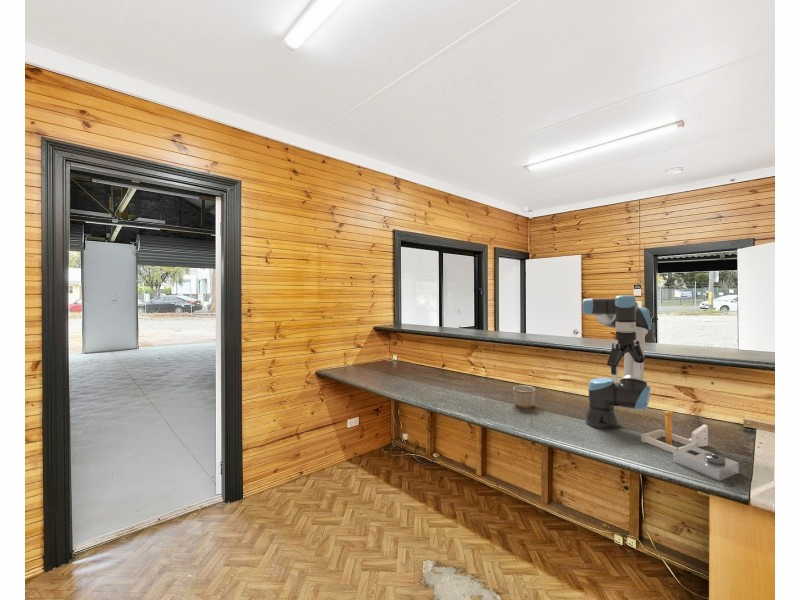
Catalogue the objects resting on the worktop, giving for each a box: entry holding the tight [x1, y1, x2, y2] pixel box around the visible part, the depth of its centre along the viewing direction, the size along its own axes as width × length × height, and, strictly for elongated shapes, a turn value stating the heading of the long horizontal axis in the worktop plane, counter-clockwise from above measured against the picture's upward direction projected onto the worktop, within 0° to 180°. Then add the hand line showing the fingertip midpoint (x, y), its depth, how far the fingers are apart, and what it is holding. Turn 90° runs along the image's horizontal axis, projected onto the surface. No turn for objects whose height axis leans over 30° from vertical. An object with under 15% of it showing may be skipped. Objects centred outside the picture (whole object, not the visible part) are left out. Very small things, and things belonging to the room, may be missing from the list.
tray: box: [640, 428, 699, 454], centre depth 163 cm, size 16×13×4 cm
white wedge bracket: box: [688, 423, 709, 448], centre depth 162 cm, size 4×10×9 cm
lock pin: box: [663, 410, 674, 446], centre depth 163 cm, size 3×3×15 cm
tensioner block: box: [672, 445, 740, 482], centre depth 144 cm, size 16×12×8 cm
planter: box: [512, 384, 536, 409], centre depth 222 cm, size 13×13×10 cm
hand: (626, 379), depth 160 cm, fingers open, 13 cm apart
